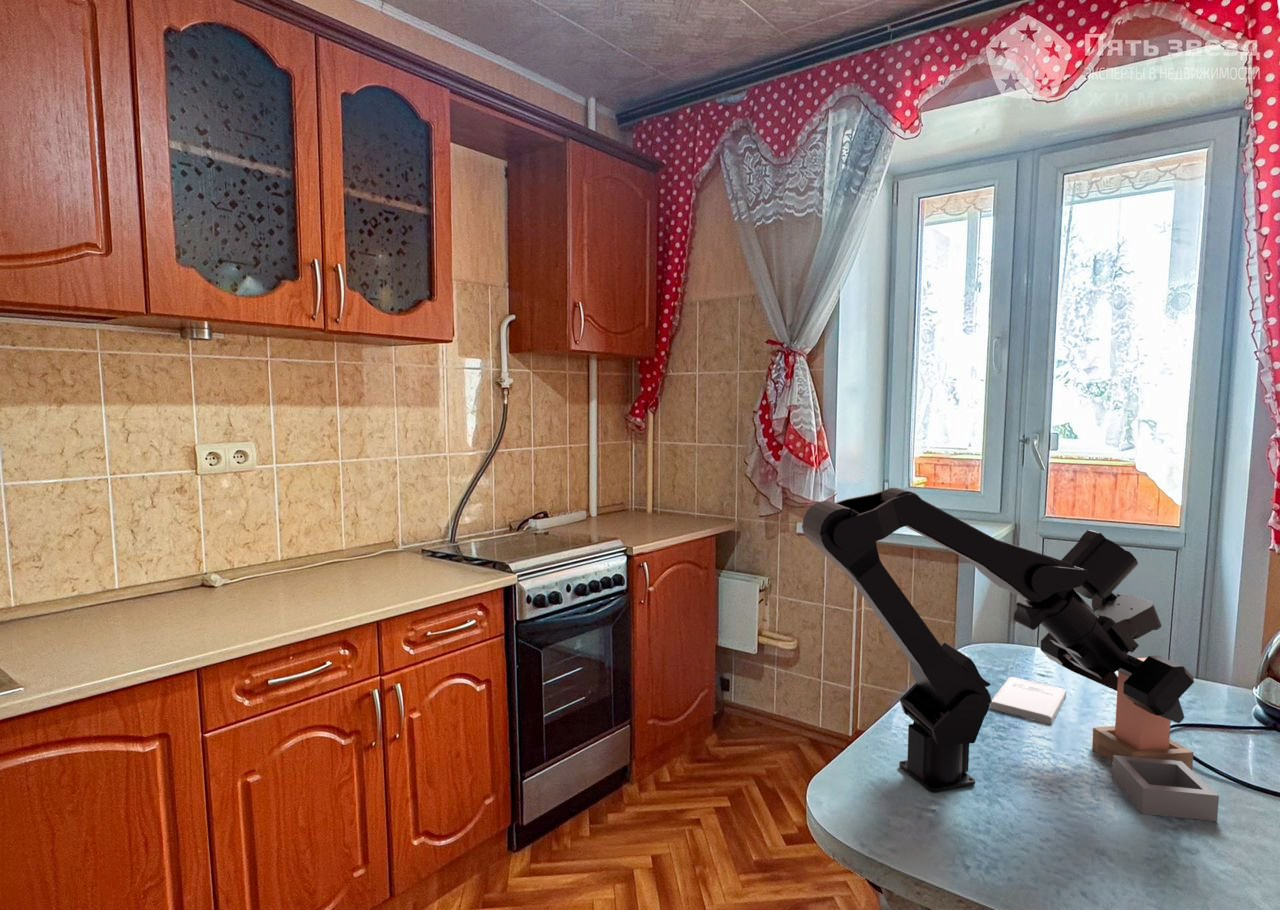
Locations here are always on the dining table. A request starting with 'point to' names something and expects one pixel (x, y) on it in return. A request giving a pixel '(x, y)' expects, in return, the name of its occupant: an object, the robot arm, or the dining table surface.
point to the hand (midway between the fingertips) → (1148, 703)
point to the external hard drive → (1029, 700)
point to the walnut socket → (1112, 745)
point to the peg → (1139, 723)
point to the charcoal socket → (1165, 788)
